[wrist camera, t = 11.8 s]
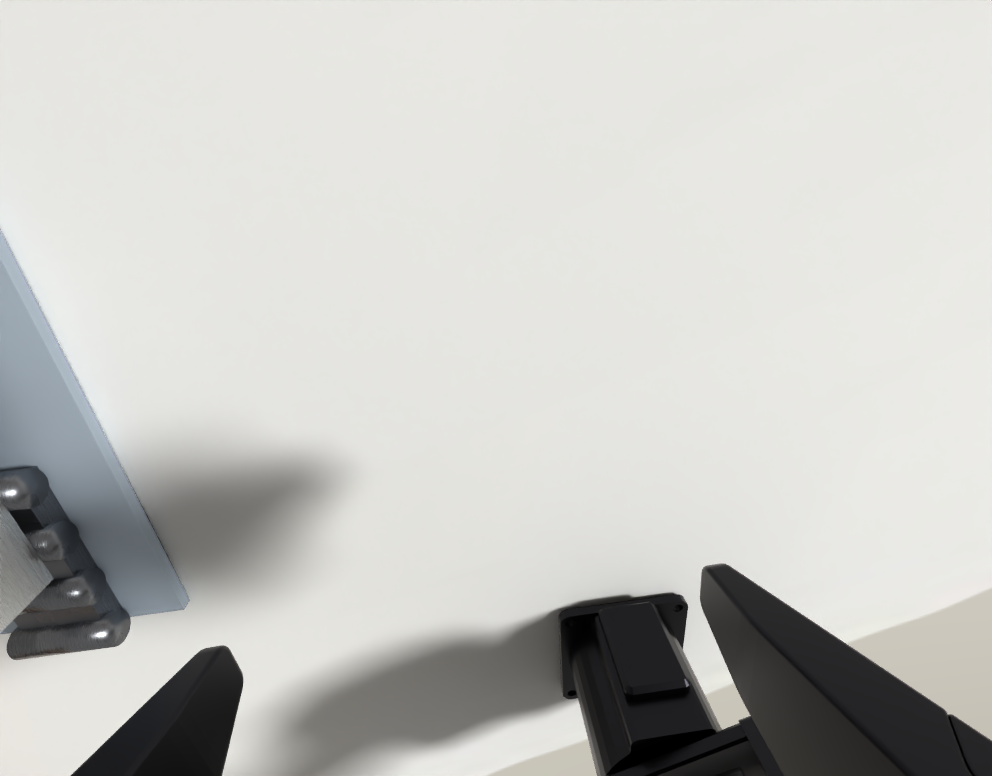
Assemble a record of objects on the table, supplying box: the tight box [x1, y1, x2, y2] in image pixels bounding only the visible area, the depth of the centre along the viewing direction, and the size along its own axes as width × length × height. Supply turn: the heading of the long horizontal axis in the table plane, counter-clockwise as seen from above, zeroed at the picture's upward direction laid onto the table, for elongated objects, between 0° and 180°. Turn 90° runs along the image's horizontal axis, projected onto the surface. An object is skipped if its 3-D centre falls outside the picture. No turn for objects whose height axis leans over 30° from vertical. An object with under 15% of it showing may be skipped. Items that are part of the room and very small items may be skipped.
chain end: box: [0, 466, 131, 660], centre depth 18 cm, size 9×4×2 cm, turn 5°
